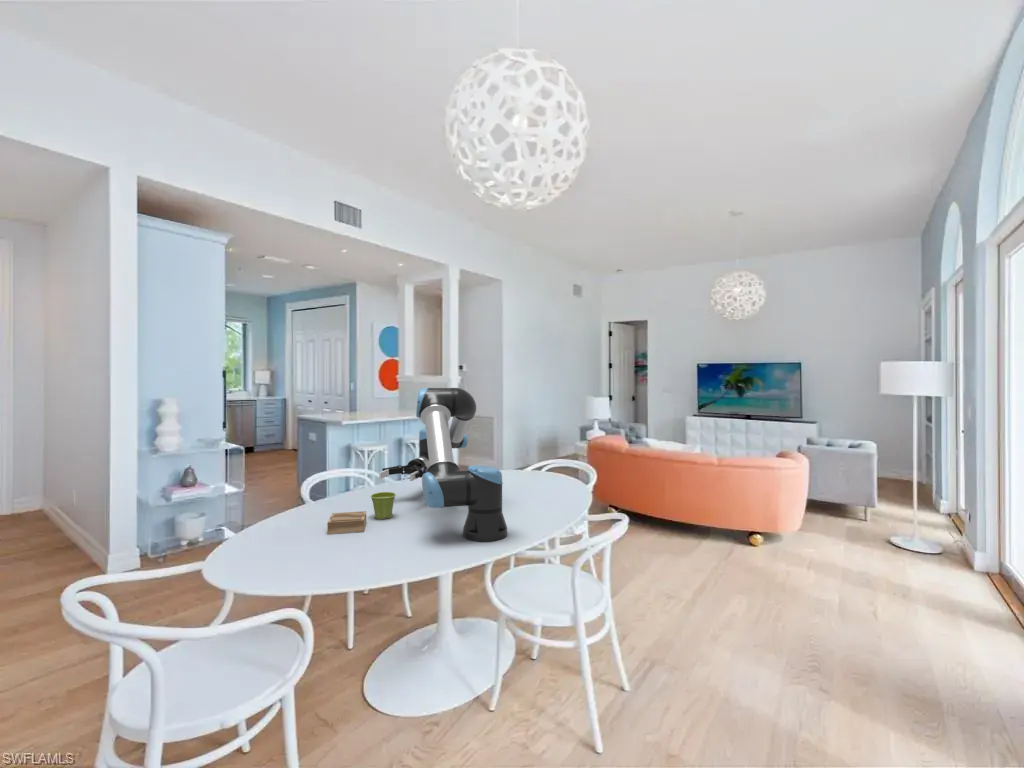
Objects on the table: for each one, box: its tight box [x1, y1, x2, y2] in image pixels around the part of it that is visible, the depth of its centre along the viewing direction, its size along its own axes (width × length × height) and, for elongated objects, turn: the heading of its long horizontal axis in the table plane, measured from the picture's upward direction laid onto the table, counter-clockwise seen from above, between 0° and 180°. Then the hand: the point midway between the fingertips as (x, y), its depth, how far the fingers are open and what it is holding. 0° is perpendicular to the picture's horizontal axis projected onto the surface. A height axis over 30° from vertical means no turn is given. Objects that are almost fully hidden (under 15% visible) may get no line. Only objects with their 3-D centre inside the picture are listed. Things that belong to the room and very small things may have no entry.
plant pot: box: [370, 491, 397, 520], centre depth 193 cm, size 9×9×9 cm
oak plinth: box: [326, 510, 367, 535], centre depth 180 cm, size 12×12×4 cm
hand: (395, 476), depth 203 cm, fingers open, 13 cm apart
